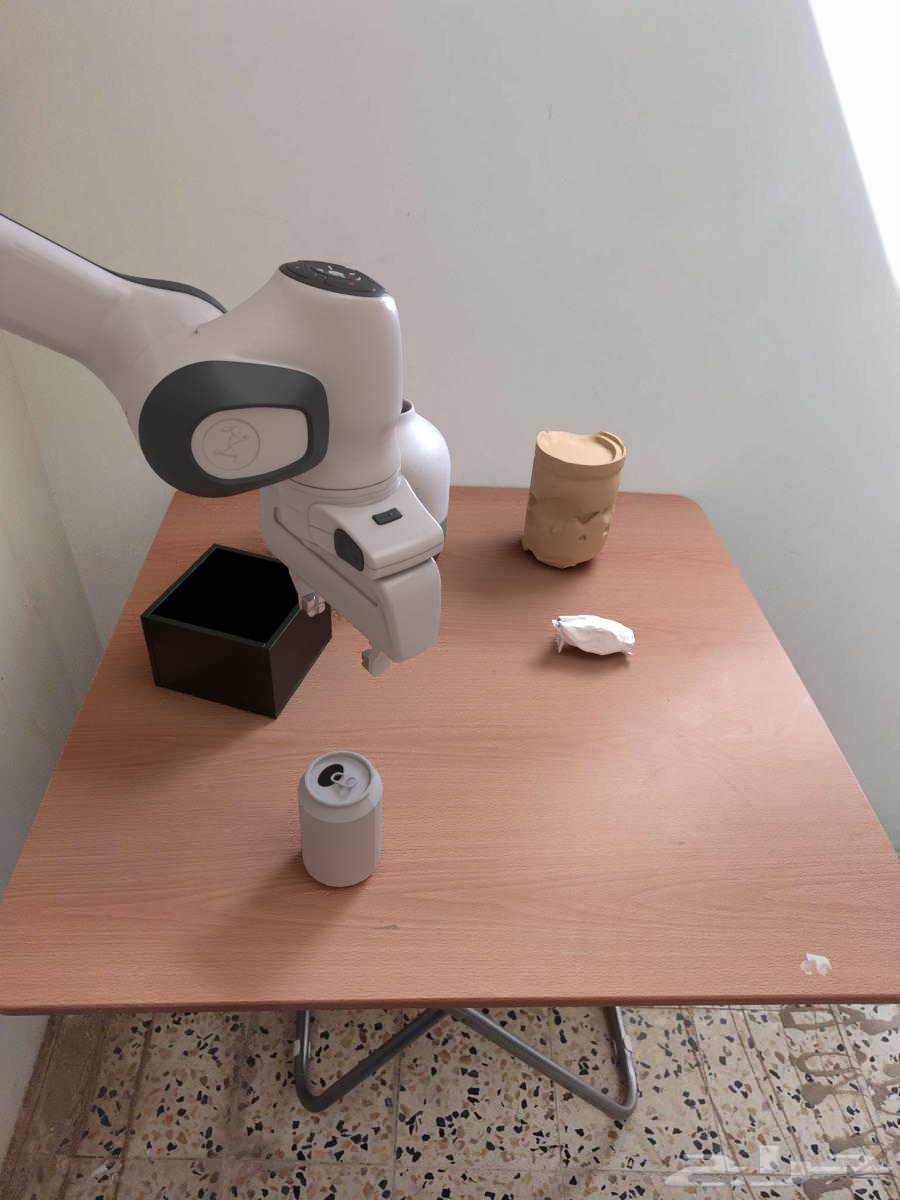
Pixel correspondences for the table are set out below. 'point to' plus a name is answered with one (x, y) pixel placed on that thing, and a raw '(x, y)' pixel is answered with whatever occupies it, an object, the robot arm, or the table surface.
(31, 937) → the table surface
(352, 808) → the can
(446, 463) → the vase
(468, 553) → the table surface
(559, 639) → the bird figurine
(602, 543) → the container
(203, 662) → the bin
